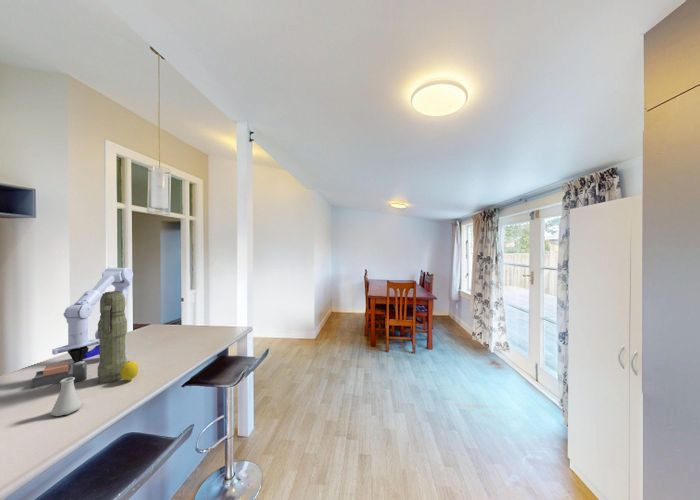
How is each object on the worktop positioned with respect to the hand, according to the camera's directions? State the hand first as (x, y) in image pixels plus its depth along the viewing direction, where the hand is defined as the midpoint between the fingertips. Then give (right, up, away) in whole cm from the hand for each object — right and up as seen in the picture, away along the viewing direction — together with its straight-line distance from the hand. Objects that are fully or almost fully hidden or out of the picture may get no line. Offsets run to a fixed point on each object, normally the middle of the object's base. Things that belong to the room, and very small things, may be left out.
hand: (78, 365), depth 113 cm
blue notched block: (-15, -4, +22) cm, 27 cm away
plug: (+6, -4, -5) cm, 8 cm away
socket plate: (-4, -3, -4) cm, 7 cm away
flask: (+22, -4, -25) cm, 33 cm away
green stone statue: (+18, -4, -3) cm, 18 cm away
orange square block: (-4, -1, -4) cm, 6 cm away
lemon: (+26, -4, -5) cm, 27 cm away
